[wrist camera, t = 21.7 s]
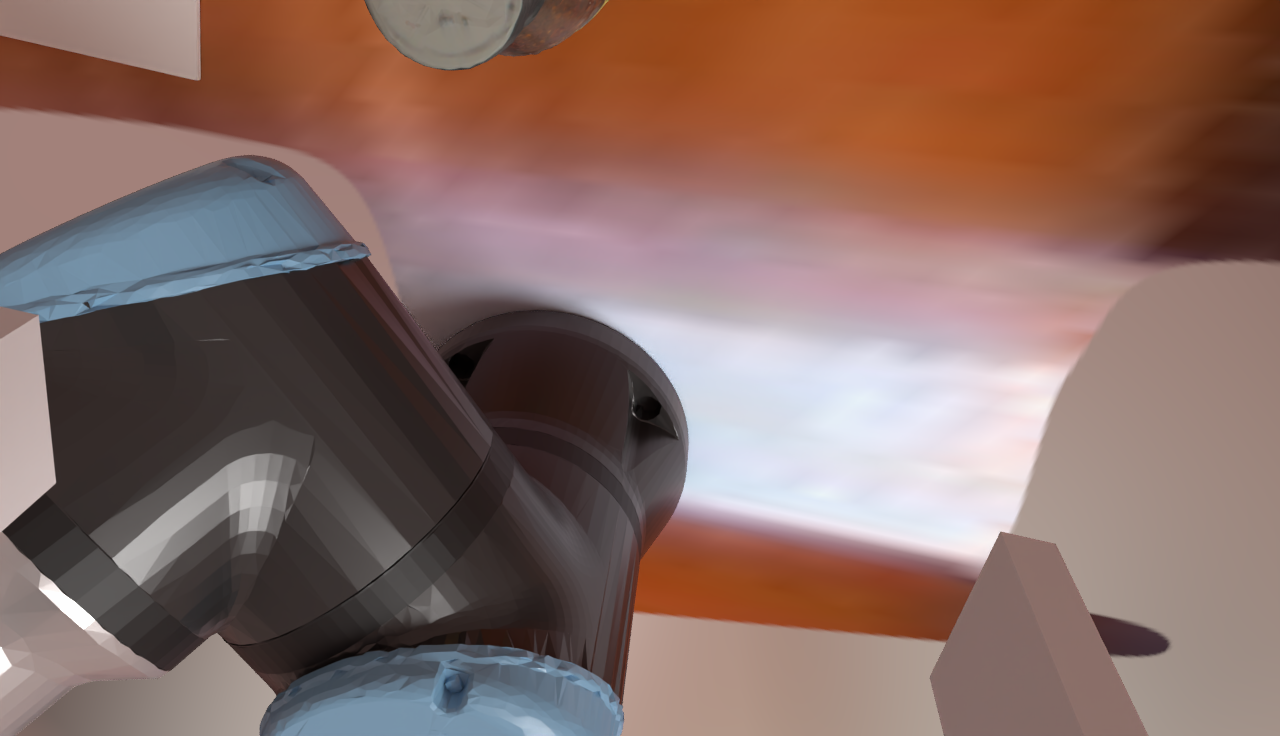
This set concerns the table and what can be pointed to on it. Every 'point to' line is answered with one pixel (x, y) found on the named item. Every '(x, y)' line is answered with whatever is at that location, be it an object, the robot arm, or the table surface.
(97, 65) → the table surface
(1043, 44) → the table surface
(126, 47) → the paper
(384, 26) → the sauce bottle
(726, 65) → the table surface
